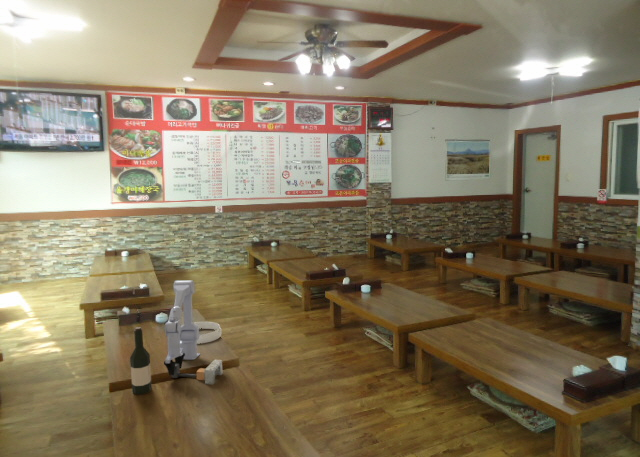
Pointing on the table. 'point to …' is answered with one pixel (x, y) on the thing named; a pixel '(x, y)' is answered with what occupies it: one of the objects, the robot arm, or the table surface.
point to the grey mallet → (199, 375)
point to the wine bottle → (140, 366)
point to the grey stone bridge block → (213, 371)
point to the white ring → (209, 336)
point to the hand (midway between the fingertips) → (175, 371)
